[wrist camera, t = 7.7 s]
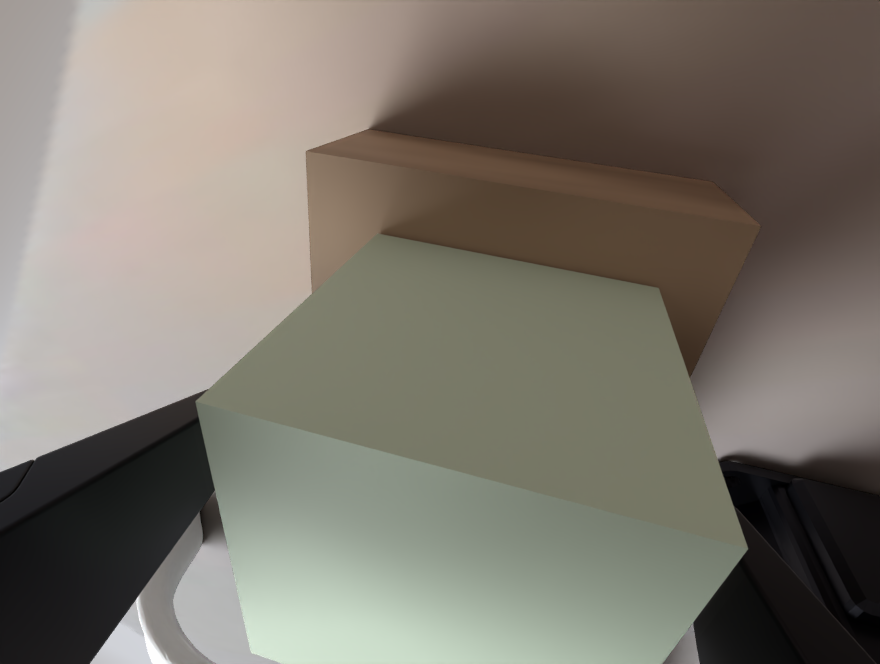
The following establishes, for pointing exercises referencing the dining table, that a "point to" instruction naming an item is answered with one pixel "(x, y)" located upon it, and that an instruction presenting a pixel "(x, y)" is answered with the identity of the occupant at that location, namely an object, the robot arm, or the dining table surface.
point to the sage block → (468, 469)
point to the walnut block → (533, 217)
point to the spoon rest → (170, 604)
